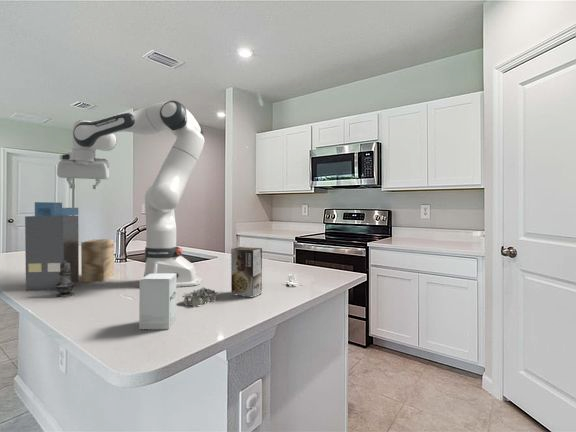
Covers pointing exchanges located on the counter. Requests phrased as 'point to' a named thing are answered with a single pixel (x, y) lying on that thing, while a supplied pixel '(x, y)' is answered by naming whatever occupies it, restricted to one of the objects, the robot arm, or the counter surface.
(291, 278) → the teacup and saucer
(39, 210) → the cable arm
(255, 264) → the coffee box
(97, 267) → the wooden log section
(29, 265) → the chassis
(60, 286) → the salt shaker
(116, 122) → the robot arm
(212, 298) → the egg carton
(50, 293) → the counter surface
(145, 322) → the supplement box
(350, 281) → the counter surface
